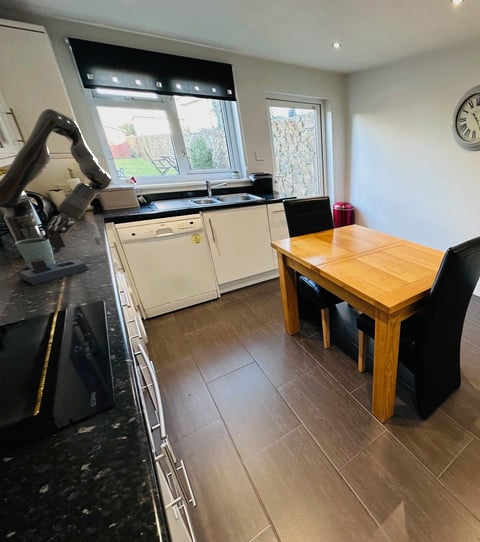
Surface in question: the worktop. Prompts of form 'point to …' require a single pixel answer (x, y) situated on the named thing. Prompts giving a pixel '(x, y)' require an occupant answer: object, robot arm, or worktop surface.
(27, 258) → the drinking glass
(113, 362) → the worktop surface
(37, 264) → the mounted pad
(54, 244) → the back pad
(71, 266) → the pad mount
